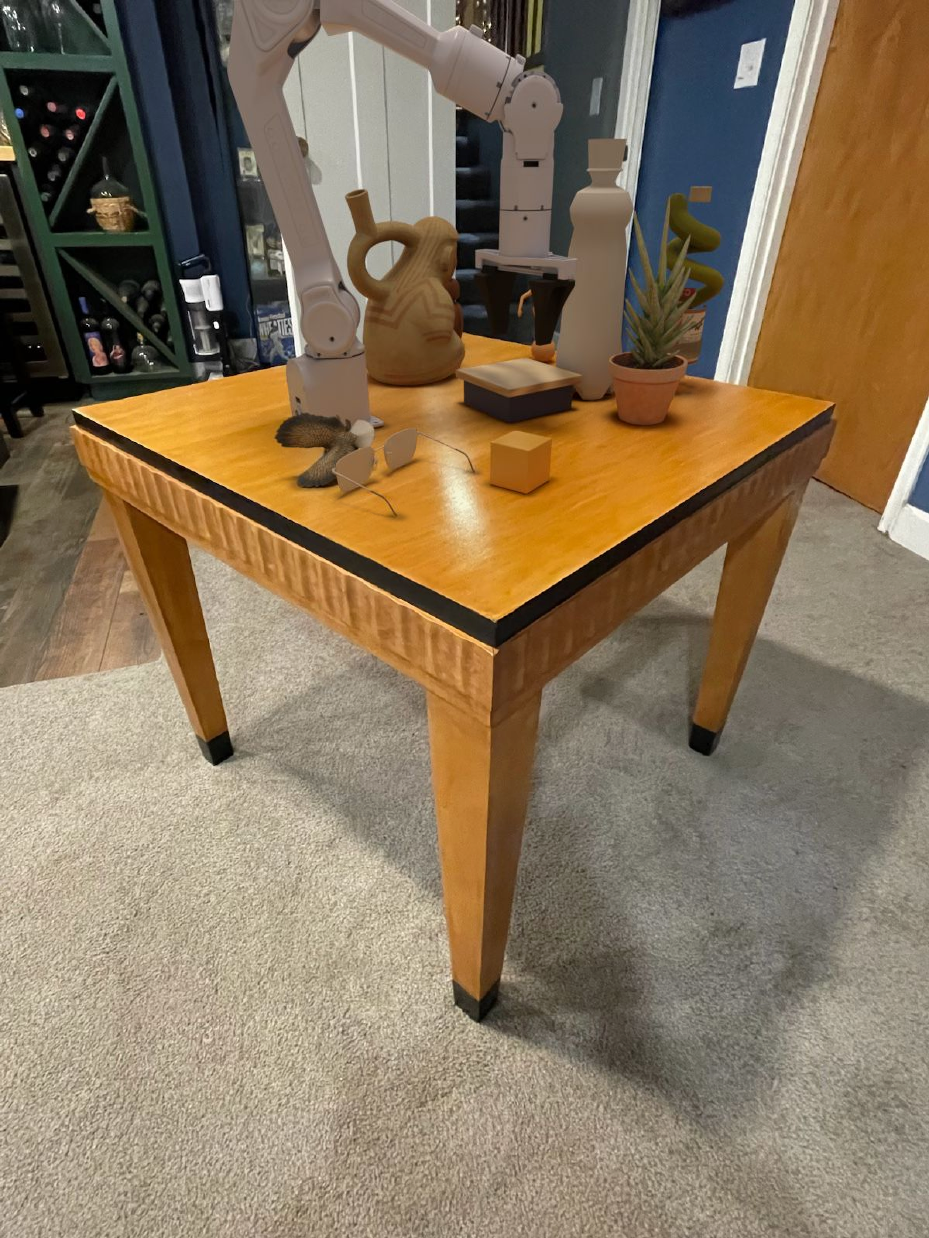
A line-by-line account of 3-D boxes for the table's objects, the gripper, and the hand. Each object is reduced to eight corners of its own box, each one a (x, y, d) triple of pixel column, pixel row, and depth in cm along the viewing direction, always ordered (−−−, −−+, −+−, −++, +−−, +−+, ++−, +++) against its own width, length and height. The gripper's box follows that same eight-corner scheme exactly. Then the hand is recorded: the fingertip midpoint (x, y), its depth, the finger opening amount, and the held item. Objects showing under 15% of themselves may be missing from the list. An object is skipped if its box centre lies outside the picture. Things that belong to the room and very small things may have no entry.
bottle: (541, 395, 98) (555, 139, 82) (572, 381, 104) (591, 141, 88) (598, 405, 94) (625, 137, 77) (628, 390, 100) (658, 139, 83)
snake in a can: (661, 375, 107) (689, 185, 93) (717, 388, 100) (756, 186, 86) (611, 388, 101) (634, 187, 87) (668, 403, 94) (702, 189, 80)
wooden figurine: (462, 350, 122) (462, 255, 113) (430, 350, 122) (427, 255, 114) (463, 342, 127) (463, 251, 119) (432, 342, 127) (430, 251, 119)
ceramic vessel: (491, 374, 108) (494, 186, 94) (394, 399, 97) (380, 191, 83) (421, 356, 118) (414, 185, 104) (326, 377, 107) (304, 188, 93)
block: (526, 494, 69) (528, 450, 66) (489, 484, 71) (490, 441, 69) (549, 480, 72) (552, 438, 69) (513, 470, 74) (514, 430, 72)
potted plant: (588, 413, 91) (609, 194, 77) (645, 403, 94) (674, 192, 81) (637, 435, 83) (669, 197, 70) (696, 423, 87) (738, 195, 73)
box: (507, 425, 87) (508, 389, 84) (456, 403, 95) (455, 369, 93) (579, 409, 92) (582, 375, 90) (524, 389, 101) (525, 357, 98)
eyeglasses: (418, 457, 78) (419, 422, 75) (477, 477, 74) (479, 442, 72) (332, 498, 68) (329, 460, 66) (394, 524, 65) (394, 485, 62)
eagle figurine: (322, 441, 79) (262, 450, 72) (349, 392, 75) (288, 396, 68) (364, 488, 78) (307, 502, 71) (394, 441, 73) (337, 450, 66)
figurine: (524, 366, 112) (528, 285, 105) (510, 358, 116) (512, 280, 110) (570, 362, 114) (576, 282, 107) (554, 354, 119) (559, 277, 112)
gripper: (599, 210, 74) (587, 344, 81) (506, 206, 83) (503, 326, 90) (555, 213, 70) (546, 353, 77) (461, 208, 79) (462, 333, 87)
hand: (520, 339), depth 84 cm, fingers open, 7 cm apart
